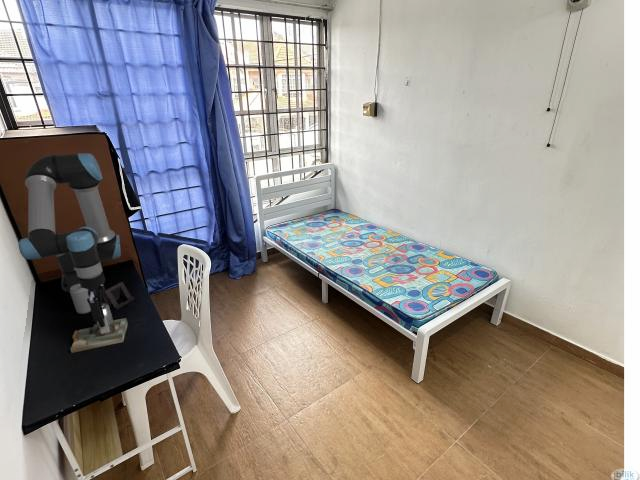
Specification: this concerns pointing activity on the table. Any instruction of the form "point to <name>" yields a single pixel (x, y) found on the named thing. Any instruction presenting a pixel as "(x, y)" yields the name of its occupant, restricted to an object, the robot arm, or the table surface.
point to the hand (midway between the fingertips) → (107, 327)
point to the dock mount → (101, 337)
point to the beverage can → (80, 298)
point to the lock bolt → (80, 335)
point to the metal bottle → (108, 319)
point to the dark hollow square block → (115, 293)
